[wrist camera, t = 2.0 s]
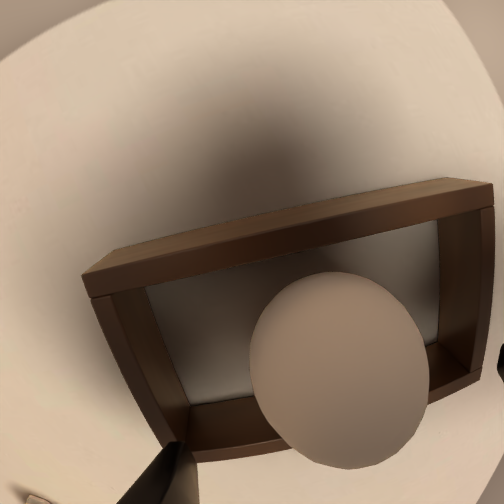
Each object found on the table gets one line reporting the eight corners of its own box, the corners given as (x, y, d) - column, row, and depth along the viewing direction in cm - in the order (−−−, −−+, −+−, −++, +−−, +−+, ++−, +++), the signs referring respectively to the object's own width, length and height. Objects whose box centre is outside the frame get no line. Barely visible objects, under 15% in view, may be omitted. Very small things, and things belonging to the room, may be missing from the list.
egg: (252, 243, 12) (277, 355, 5) (383, 254, 12) (510, 341, 5) (240, 365, 13) (247, 517, 6) (356, 366, 14) (425, 491, 6)
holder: (447, 177, 12) (493, 183, 9) (448, 349, 14) (480, 380, 11) (112, 250, 12) (79, 274, 9) (180, 419, 14) (172, 465, 11)
